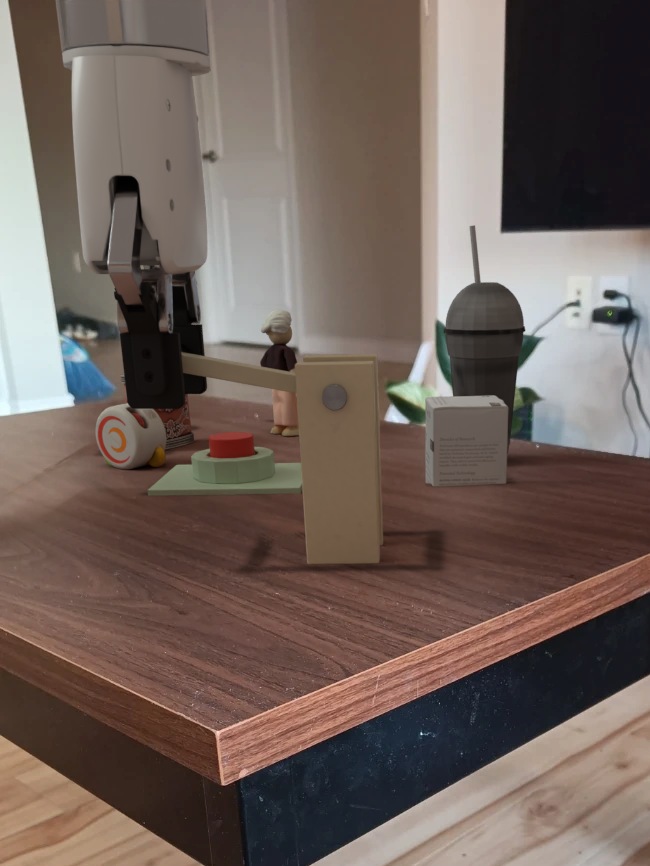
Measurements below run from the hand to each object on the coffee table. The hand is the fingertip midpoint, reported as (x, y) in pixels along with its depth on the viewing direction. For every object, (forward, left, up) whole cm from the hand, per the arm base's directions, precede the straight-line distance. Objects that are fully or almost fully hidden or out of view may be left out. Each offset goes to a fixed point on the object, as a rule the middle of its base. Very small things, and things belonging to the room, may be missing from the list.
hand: (169, 397), depth 61 cm
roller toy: (-13, +35, -11) cm, 39 cm away
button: (-1, +22, -8) cm, 23 cm away
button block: (-1, +22, -11) cm, 24 cm away
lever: (+5, 0, 0) cm, 5 cm away
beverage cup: (+20, +35, -11) cm, 42 cm away
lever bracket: (+10, 0, -11) cm, 15 cm away
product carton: (+18, +22, -11) cm, 31 cm away
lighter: (-13, +46, -11) cm, 49 cm away
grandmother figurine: (-1, +53, -11) cm, 54 cm away
